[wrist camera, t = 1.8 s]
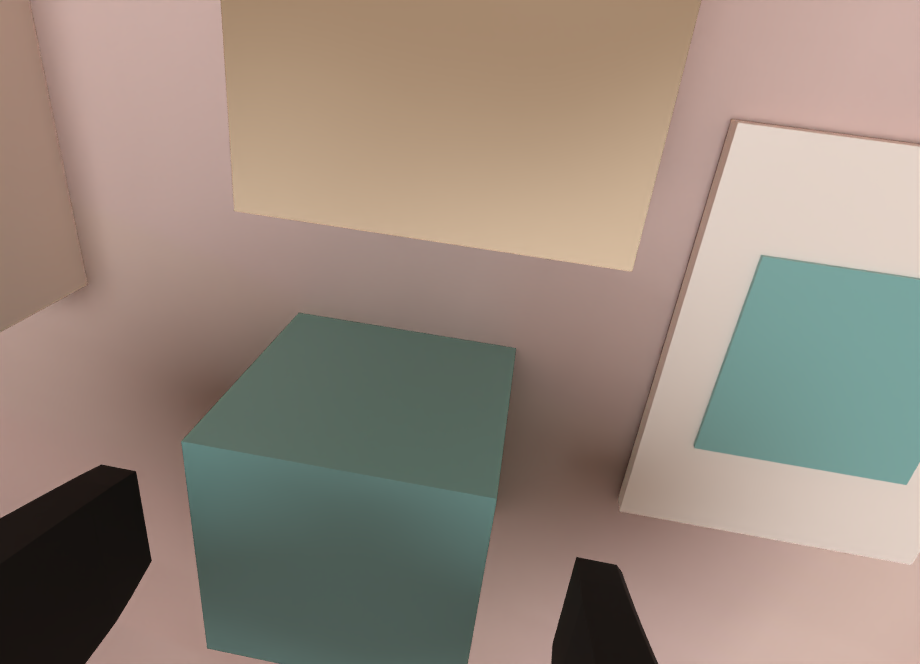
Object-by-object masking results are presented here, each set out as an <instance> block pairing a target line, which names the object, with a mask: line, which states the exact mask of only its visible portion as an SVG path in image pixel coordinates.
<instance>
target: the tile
mask: <svg viewBox="0 0 920 664" xmlns="http://www.w3.org/2000/svg"><path fill="white" fill-rule="evenodd" d="M618 504H619V512H625V513H630V514H636V515H641V516H646V517H652V518H657V519H663V520H668V521H674V522H679V523H685V524H690V525H695V526H701V527H706V528H712V529H717V530H723V531H728V532H734V533H739V534H744V535H750V536H755V537H761V538H766V539H772V540H777V541H783V542H788V543H793V544H799V545H804V546H810V547H815V548H821V549H826V550H832V551H837V552H842V553H848V554H853V555H859V556H864V557H870V558H875V559H881V560H886V561H891V562H897V563H902V564H908V565H912V564H913V562H914V560H915V559H916V557H917V556H918V554H919V553H920V144H915V143H908V142H900V141H892V140H885V139H877V138H870V137H862V136H854V135H847V134H839V133H832V132H824V131H817V130H809V129H801V128H794V127H786V126H779V125H771V124H764V123H756V122H748V121H741V120H733V119H732V120H731V123H730V126H729V130H728V133H727V136H726V140H725V143H724V146H723V150H722V153H721V156H720V160H719V163H718V166H717V170H716V173H715V176H714V180H713V183H712V186H711V190H710V193H709V196H708V200H707V203H706V206H705V210H704V213H703V216H702V220H701V223H700V226H699V230H698V233H697V236H696V240H695V243H694V246H693V250H692V253H691V256H690V260H689V263H688V266H687V270H686V273H685V276H684V280H683V283H682V286H681V290H680V293H679V296H678V300H677V303H676V306H675V310H674V313H673V316H672V320H671V323H670V326H669V330H668V333H667V336H666V340H665V343H664V346H663V350H662V353H661V356H660V360H659V363H658V366H657V370H656V373H655V376H654V380H653V383H652V386H651V390H650V393H649V396H648V400H647V403H646V406H645V410H644V413H643V416H642V420H641V423H640V426H639V430H638V433H637V436H636V440H635V443H634V446H633V450H632V453H631V457H630V460H629V463H628V467H627V470H626V473H625V477H624V480H623V483H622V487H621V490H620V493H619V497H618Z"/></svg>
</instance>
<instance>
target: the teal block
mask: <svg viewBox="0 0 920 664" xmlns="http://www.w3.org/2000/svg"><path fill="white" fill-rule="evenodd" d="M515 353H516V348H512V347H506V346H500V345H493V344H487V343H481V342H475V341H469V340H463V339H457V338H451V337H444V336H438V335H432V334H426V333H420V332H414V331H408V330H401V329H395V328H389V327H383V326H377V325H371V324H365V323H359V322H352V321H346V320H340V319H334V318H328V317H322V316H316V315H310V314H303V313H298V314H297V316H296V317H295V318H294V319H293V320H292V321H291V322H290V323H289V324H288V325H287V326H286V328H285V329H284V330H283V331H282V332H281V333H280V334H279V335H278V336H277V337H276V338H275V340H274V341H273V342H272V343H271V344H270V345H269V346H268V347H267V348H266V349H265V351H264V352H263V353H262V354H261V355H260V356H259V357H258V358H257V359H256V360H255V361H254V363H253V364H252V365H251V366H250V367H249V368H248V369H247V370H246V371H245V372H244V373H243V375H242V376H241V377H240V378H239V379H238V380H237V381H236V382H235V383H234V384H233V385H232V387H231V388H230V389H229V390H228V391H227V392H226V393H225V394H224V395H223V396H222V398H221V399H220V400H219V401H218V402H217V403H216V404H215V405H214V406H213V407H212V408H211V410H210V411H209V412H208V413H207V414H206V415H205V416H204V417H203V418H202V419H201V420H200V422H199V423H198V424H197V425H196V426H195V427H194V428H193V429H192V430H191V431H190V432H189V434H188V435H187V436H186V437H185V438H184V439H183V440H182V441H181V443H182V451H183V459H184V467H185V475H186V483H187V491H188V499H189V507H190V515H191V523H192V531H193V539H194V547H195V555H196V563H197V571H198V579H199V587H200V595H201V603H202V611H203V619H204V626H205V634H206V642H207V648H208V649H213V650H217V651H222V652H227V653H232V654H236V655H241V656H246V657H251V658H256V659H260V660H265V661H270V662H275V663H279V664H468V659H469V653H470V648H471V642H472V636H473V631H474V625H475V620H476V614H477V608H478V603H479V597H480V591H481V586H482V580H483V574H484V569H485V563H486V557H487V552H488V546H489V541H490V535H491V529H492V524H493V518H494V512H495V507H496V501H497V494H498V486H499V478H500V471H501V463H502V455H503V447H504V439H505V431H506V424H507V416H508V408H509V400H510V392H511V385H512V377H513V369H514V361H515Z"/></svg>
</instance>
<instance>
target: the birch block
mask: <svg viewBox="0 0 920 664" xmlns="http://www.w3.org/2000/svg"><path fill="white" fill-rule="evenodd" d="M700 4H701V0H221V14H222V30H223V45H224V61H225V76H226V92H227V107H228V123H229V139H230V154H231V170H232V185H233V201H234V211H236V212H243V213H249V214H256V215H263V216H269V217H276V218H282V219H289V220H295V221H302V222H309V223H315V224H322V225H328V226H335V227H341V228H348V229H354V230H361V231H368V232H374V233H381V234H387V235H394V236H400V237H407V238H414V239H420V240H427V241H433V242H440V243H446V244H453V245H460V246H466V247H473V248H479V249H486V250H492V251H499V252H506V253H512V254H519V255H525V256H532V257H538V258H545V259H552V260H558V261H565V262H571V263H578V264H584V265H591V266H598V267H604V268H611V269H617V270H624V271H630V272H632V270H633V266H634V262H635V258H636V254H637V251H638V247H639V243H640V239H641V235H642V231H643V227H644V223H645V219H646V215H647V211H648V207H649V204H650V200H651V196H652V192H653V188H654V184H655V180H656V176H657V172H658V168H659V164H660V160H661V157H662V153H663V149H664V145H665V141H666V137H667V133H668V129H669V125H670V121H671V117H672V113H673V110H674V106H675V102H676V98H677V94H678V90H679V86H680V82H681V78H682V74H683V70H684V66H685V63H686V59H687V55H688V51H689V47H690V43H691V39H692V35H693V31H694V27H695V23H696V19H697V15H698V12H699V8H700Z"/></svg>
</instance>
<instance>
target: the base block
mask: <svg viewBox="0 0 920 664" xmlns="http://www.w3.org/2000/svg"><path fill="white" fill-rule="evenodd" d="M86 285H88V283H87V278H86V273H85V268H84V263H83V259H82V254H81V249H80V244H79V239H78V234H77V229H76V224H75V220H74V215H73V210H72V205H71V200H70V195H69V190H68V186H67V181H66V176H65V171H64V166H63V161H62V156H61V151H60V147H59V142H58V137H57V132H56V127H55V122H54V117H53V112H52V108H51V103H50V98H49V93H48V88H47V83H46V78H45V73H44V69H43V64H42V59H41V54H40V49H39V44H38V39H37V34H36V30H35V25H34V20H33V15H32V10H31V5H30V0H0V332H2V331H4V330H5V329H7V328H9V327H11V326H13V325H15V324H16V323H18V322H20V321H22V320H24V319H26V318H27V317H29V316H31V315H33V314H35V313H37V312H38V311H40V310H42V309H44V308H46V307H48V306H49V305H51V304H53V303H55V302H57V301H59V300H60V299H62V298H64V297H66V296H68V295H70V294H71V293H73V292H75V291H77V290H79V289H81V288H82V287H84V286H86Z"/></svg>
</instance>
